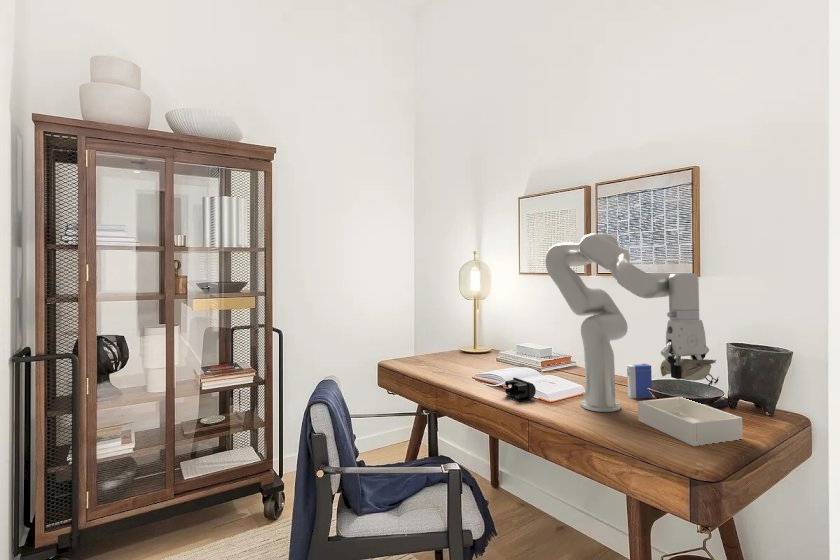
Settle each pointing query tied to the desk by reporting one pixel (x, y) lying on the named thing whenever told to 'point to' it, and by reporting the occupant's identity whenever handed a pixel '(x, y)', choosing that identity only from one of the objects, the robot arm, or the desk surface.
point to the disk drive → (718, 402)
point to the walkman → (639, 381)
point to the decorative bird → (691, 369)
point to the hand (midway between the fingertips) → (685, 376)
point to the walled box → (690, 421)
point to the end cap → (520, 390)
